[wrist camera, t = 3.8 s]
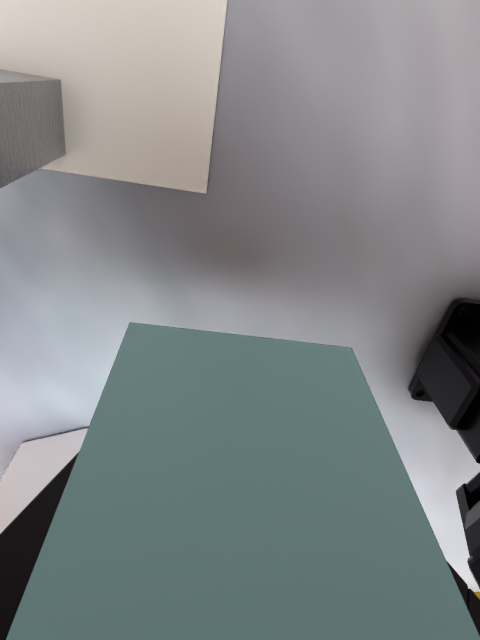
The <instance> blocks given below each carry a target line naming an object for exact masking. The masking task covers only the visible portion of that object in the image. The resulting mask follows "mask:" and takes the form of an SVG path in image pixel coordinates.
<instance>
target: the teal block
mask: <svg viewBox="0 0 480 640" xmlns="http://www.w3.org/2000/svg"><path fill="white" fill-rule="evenodd" d="M6 640H480V636H479V634H478V631H477V629H476V627H475V625H474V622H473V620H472V618H471V616H470V613H469V611H468V609H467V607H466V604H465V602H464V600H463V598H462V595H461V593H460V591H459V589H458V586H457V584H456V582H455V580H454V577H453V575H452V573H451V571H450V568H449V566H448V564H447V562H446V559H445V557H444V555H443V553H442V550H441V548H440V546H439V544H438V541H437V539H436V537H435V535H434V532H433V530H432V528H431V526H430V523H429V521H428V519H427V516H426V514H425V512H424V510H423V507H422V505H421V503H420V501H419V498H418V496H417V494H416V492H415V489H414V487H413V485H412V483H411V480H410V478H409V476H408V474H407V471H406V469H405V467H404V465H403V462H402V460H401V458H400V456H399V453H398V451H397V449H396V447H395V444H394V442H393V440H392V438H391V435H390V433H389V431H388V429H387V426H386V424H385V422H384V420H383V417H382V415H381V413H380V411H379V408H378V406H377V404H376V402H375V399H374V397H373V395H372V393H371V390H370V388H369V386H368V383H367V381H366V379H365V377H364V374H363V372H362V370H361V368H360V365H359V363H358V361H357V359H356V356H355V354H354V352H353V350H352V348H350V347H341V346H333V345H324V344H315V343H307V342H298V341H289V340H280V339H272V338H263V337H254V336H245V335H237V334H228V333H219V332H210V331H202V330H193V329H184V328H175V327H167V326H158V325H149V324H140V323H132V322H130V323H129V325H128V328H127V331H126V333H125V336H124V338H123V341H122V343H121V346H120V348H119V351H118V354H117V356H116V359H115V361H114V364H113V366H112V369H111V372H110V374H109V377H108V379H107V382H106V384H105V387H104V390H103V392H102V395H101V397H100V400H99V402H98V405H97V407H96V410H95V413H94V415H93V418H92V420H91V423H90V425H89V428H88V431H87V433H86V436H85V438H84V441H83V443H82V446H81V448H80V451H79V454H78V456H77V459H76V461H75V464H74V466H73V469H72V472H71V474H70V477H69V479H68V482H67V484H66V487H65V489H64V492H63V495H62V497H61V500H60V502H59V505H58V507H57V510H56V513H55V515H54V518H53V520H52V523H51V525H50V528H49V530H48V533H47V536H46V538H45V541H44V543H43V546H42V548H41V551H40V554H39V556H38V559H37V561H36V564H35V566H34V569H33V571H32V574H31V577H30V579H29V582H28V584H27V587H26V589H25V592H24V595H23V597H22V600H21V602H20V605H19V607H18V610H17V612H16V615H15V618H14V620H13V623H12V625H11V628H10V630H9V633H8V636H7V638H6Z"/></svg>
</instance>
